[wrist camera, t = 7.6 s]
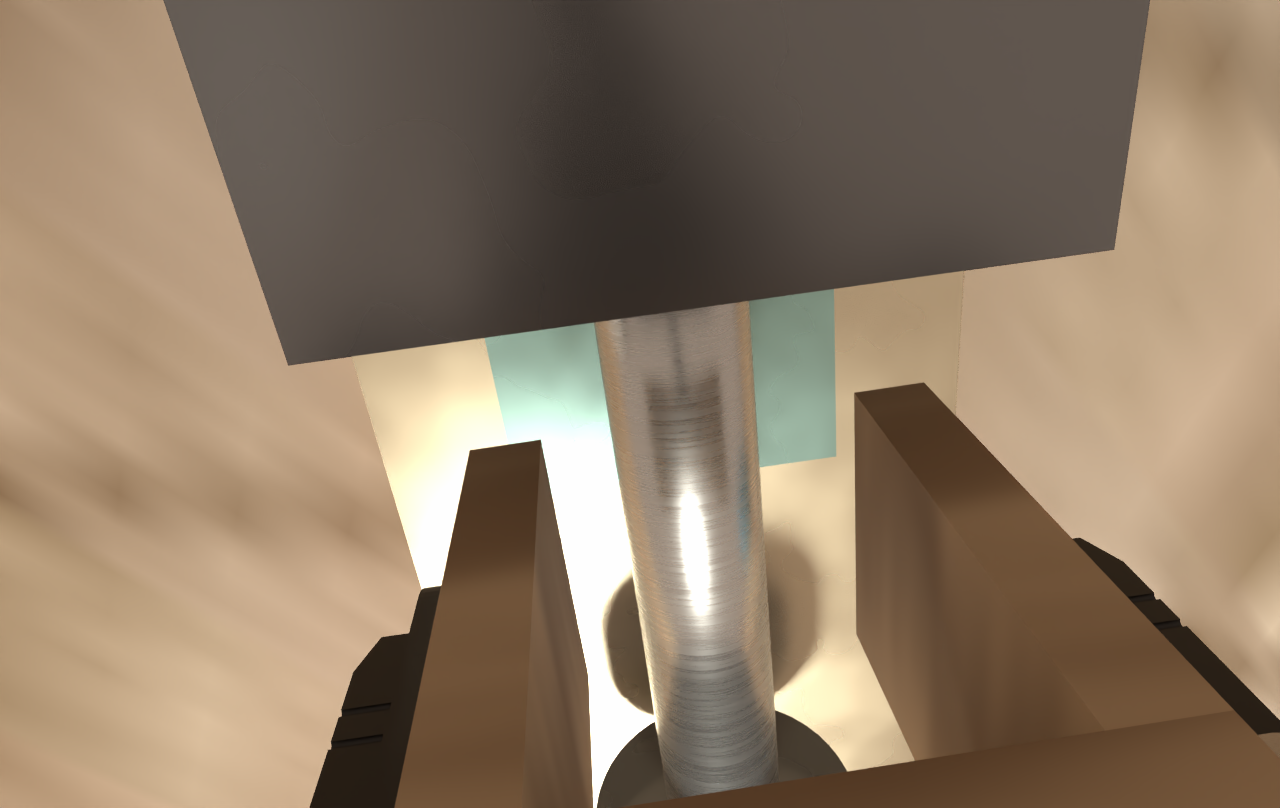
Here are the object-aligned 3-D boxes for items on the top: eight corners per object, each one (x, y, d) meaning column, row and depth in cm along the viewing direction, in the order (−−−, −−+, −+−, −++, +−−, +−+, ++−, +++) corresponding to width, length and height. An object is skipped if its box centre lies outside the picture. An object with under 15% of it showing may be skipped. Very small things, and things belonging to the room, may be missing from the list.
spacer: (470, 450, 10) (344, 1047, 4) (923, 381, 10) (1393, 877, 5) (528, 684, 12) (493, 1335, 6) (916, 624, 12) (1246, 1208, 6)
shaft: (431, -75, 13) (339, -122, 8) (793, -123, 13) (940, -201, 8) (599, 753, 21) (608, 994, 16) (818, 721, 21) (897, 950, 16)
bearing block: (140, -443, 12) (-761, -1363, 4) (976, -548, 12) (1785, -1629, 4) (499, 795, 23) (463, 1203, 15) (917, 733, 23) (1092, 1105, 16)
